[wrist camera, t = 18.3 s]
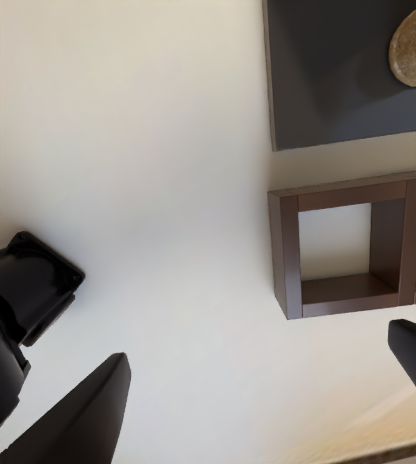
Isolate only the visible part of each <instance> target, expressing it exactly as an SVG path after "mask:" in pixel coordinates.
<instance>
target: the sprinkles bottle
mask: <svg viewBox="0 0 416 464" xmlns="http://www.w3.org/2000/svg"><path fill="white" fill-rule="evenodd" d="M389 63H390V68H391V71H392V72H393V73H394V75H395V77H396V78H397V79H398V80H399V81H401V82H403V83H404V84H406V85H409V86H412V87H413V86H416V10H415V11H413V12H412V13H411V14H410V15H409V16H408V17H407V18H405V19H404V21H403V22H402V23H401V25H400V26H399V27H398V28H397V30H396V32H395V33H394V35H393V38H392V40H391V42H390V48H389Z"/></svg>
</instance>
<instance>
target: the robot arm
mask: <svg viewBox="0 0 416 464" xmlns="http://www.w3.org/2000/svg"><path fill="white" fill-rule="evenodd" d="M22 236H24V239H23V238H22ZM77 276H79V277H80V279H78V278H77ZM84 280H85V274H84V273H83V272H81V271H80V270H79V269H77V268H76V267H75V266H73V265H72V264H70V263H69V262H68V261H66V260H65V259H64V258H62V257H61V256H60V255H58V254H57V253H55V252H54V251H53V250H51V249H50V248H49V247H47V246H46V245H45V244H43V243H42V242H40V241H39V240H38V239H36V238H35V237H34V236H32V235H31V234H30V233H28V232H26V231H21V232H18V233H17V234H16V235H15V236H14V237H13V239H12V240H11V242H10V243H9V244H8V246H7V247H6V248H4V249H1V250H0V427H1V426H2V424H3V423H4V422H5V420H6V419H7V418H8V417H9V416H10V414H11V413H12V412H13V411H14V409H15V408H16V406H17V405H18V403H19V401H20V400H19V398H18V395H19V393H20V391H21V388H22V386H23V383H24V381H25V379H26V377H27V375H28V373H29V370H30V368H31V365H30V363H29V361H28V360H25V358H24V356H23V354H22V352H21V350H20V348H19V347H20V346H21V345H22V344H23V345H24V346H26V347H29V346H32V345H33V344H34V343H35V342H36V341H37V340H38V339H39V338H40V337H41V336H42V335H43V334H44V333H45V332H46V331H47V330H48V329H49V327H50V326H51V325H52V324H53V323H54V322H55V321H56V320H57V319H58V318H59V317H60V316H61V315H62V314H63V313H64V311H65V310H66V309H67V308H68V307H69V305H70V304H71V303H72V302H73V301H74V300H75V295H74V294H73V293H74V292H75V291H76V289H77V288H78V287H79V286H80V285H81V283H82V282H83V281H84ZM388 345H389V347H390V349H391V351H392V352H393V353H394V355H395V356H396V358H397V359H398V361H399V362H400V364H401V365H402V367H403V368H404V370H405V371H406V373H407V374H408V376H409V377H410V379H411V380H412V382H413V383H414V385H415V386H416V323H413V322H411V321H408V320H405V319H397V320H391V321H390V322H389V328H388ZM130 381H131V369H130V366H129V362H128V359H127V355H126V354H125V353H124V352H122V353H114V354H112V355H111V356H110V357H109V358H107V359H106V360H105V361H104V362H103V363H102V364H101V365H100V366H98V367H97V368H96V369H95V370H94V371H93V372H92V373H91V374H89V375H88V376H87V377H86V378H85V379H84V380H83V381H82V382H80V383H79V384H78V385H77V386H76V387H75V388H74V389H73V390H71V391H70V392H69V393H68V394H67V395H66V396H65V397H64V398H62V399H61V400H60V401H59V402H58V403H57V404H56V405H55V406H53V407H52V408H51V409H50V410H49V411H48V412H47V413H46V414H44V415H43V416H42V417H41V418H40V419H39V420H38V421H37V422H35V423H34V424H33V425H32V426H31V427H30V428H29V429H27V430H26V431H25V432H24V433H23V434H22V435H21V436H20V437H18V438H17V439H16V440H15V441H14V442H13V443H12V444H11V445H10V446H9V447H8V449H5V450H4V451H3V452H1V453H0V464H111V462H112V458H113V455H114V451H115V448H116V445H117V441H118V438H119V434H120V430H121V426H122V422H123V417H124V412H125V407H126V402H127V397H128V391H129V386H130Z"/></svg>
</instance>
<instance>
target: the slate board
mask: <svg viewBox="0 0 416 464" xmlns="http://www.w3.org/2000/svg"><path fill="white" fill-rule="evenodd" d="M262 1H263V16H264V32H265V47H266V62H267V77H268V93H269V108H270V123H271V138H272V151H273V152H275V151H282V150H289V149H296V148H303V147H310V146H317V145H323V144H330V143H337V142H344V141H351V140H358V139H365V138H372V137H379V136H386V135H392V134H399V133H406V132H413V131H416V86H413V87H412V86H409V85H406V84H404V83H403V82H401V81H399V80H398V79H397V78H396V77H395V75H394V73H393V72H392V71H391V68H390V63H389V48H390V42H391V40H392V38H393V35H394V33H395V32H396V30H397V28H398V27H399V26H400V25H401V23H402V22H403V21H404V19H405V18H407V17H408V16H409V15H410V14H411V13H412V12H413V11H415V10H416V0H262Z"/></svg>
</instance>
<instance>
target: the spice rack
mask: <svg viewBox="0 0 416 464" xmlns="http://www.w3.org/2000/svg"><path fill="white" fill-rule="evenodd" d="M369 202H372V223H371V248H370V273H367V274H359V275H351V276H343V277H335V278H327V279H319V280H311V281H303V282H301V272H300V248H299V224H298V212H303V211H310V210H318V209H325V208H333V207H340V206H347V205H355V204H362V203H369ZM268 204H269V218H270V231H271V245H272V258H273V272H274V286H275V297H276V299H277V301H278V303H279V305H280V307H281V309H282V311H283V313H284V315H285V316H286V318H287V320H290V319H299V318H307V317H315V316H324V315H332V314H340V313H349V312H357V311H365V310H374V309H382V308H390V307H397V306H405V305H413V304H416V171H413V172H406V173H399V174H392V175H385V176H377V177H370V178H363V179H356V180H348V181H341V182H334V183H327V184H320V185H312V186H305V187H298V188H291V189H284V190H276V191H269V192H268Z"/></svg>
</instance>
